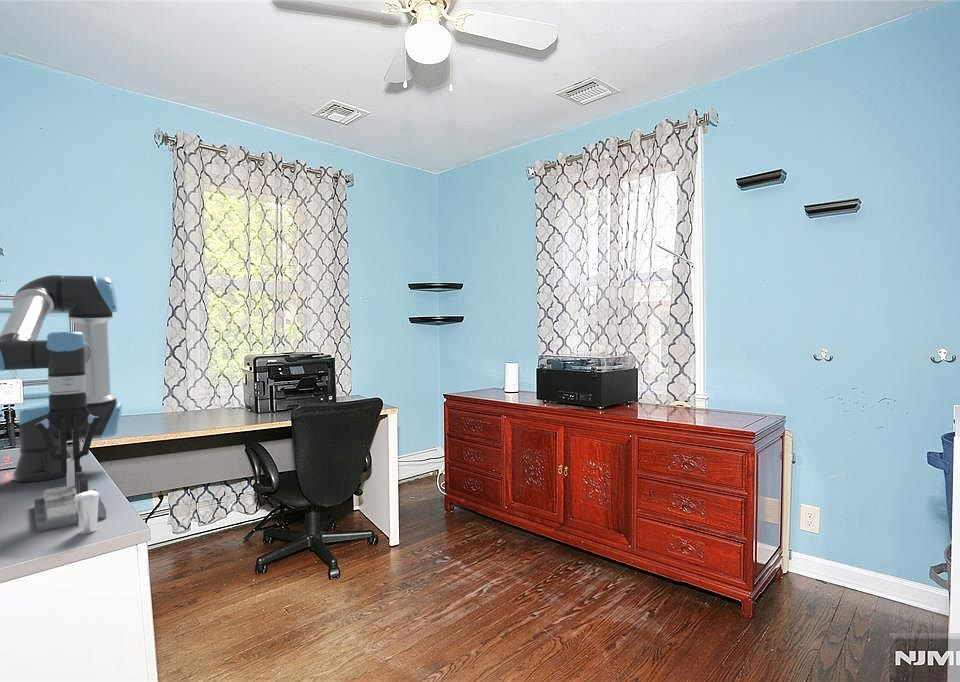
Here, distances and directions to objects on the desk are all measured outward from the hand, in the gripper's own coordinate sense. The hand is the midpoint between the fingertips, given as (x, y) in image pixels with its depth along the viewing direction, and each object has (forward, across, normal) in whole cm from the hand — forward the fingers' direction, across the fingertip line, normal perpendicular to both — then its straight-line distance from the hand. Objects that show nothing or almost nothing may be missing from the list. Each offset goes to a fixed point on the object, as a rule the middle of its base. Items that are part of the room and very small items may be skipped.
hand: (70, 484), depth 133 cm
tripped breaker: (+2, +2, 0) cm, 3 cm away
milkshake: (+7, +1, -20) cm, 21 cm away
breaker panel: (+7, -1, 0) cm, 7 cm away
